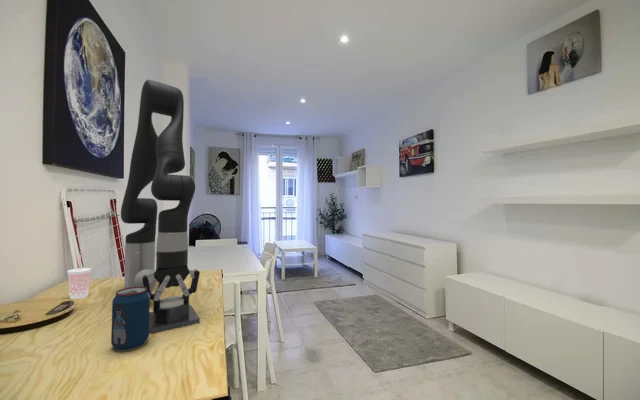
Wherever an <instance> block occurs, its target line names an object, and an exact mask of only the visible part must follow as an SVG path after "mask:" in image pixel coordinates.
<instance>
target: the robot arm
mask: <svg viewBox="0 0 640 400" xmlns="http://www.w3.org/2000/svg"><path fill="white" fill-rule="evenodd" d="M140 92H141V94H140V100H139V112H138V118H137V129H136V132H135V139H134V143H133V147H132V148H133V149H132V153H131V157H130V158H131V159H130V164H129V174H128V179H127V184H126V189H125V192H124V196H123V199H122V203H121V208H120V219H121V221H122V222H123V223H124V224H129V225H130V224H143V226H142V227H141V228H139V229H138V230H136V231H133V232H131V233H128V234H126V235H125V238H124V239H125V244H124V245H125V249H124V250H125V251H124V280H123V281H124V285H123V286H124V288H129V287H136V285H135V282H134V280H135V277H136V275H137V274H138V273H139V272H140V271H142V270H145V269H151V270H153V271H155V272H154V274H151V275H144V276H142V280H143V286H144V287H146V288H147V292H148V293H149V295H150V300H151V301H153V302H152V303H153V305H152V310H153V311H152V312H154V313H156V309H158V308H160V300H161V299H160V297H161V296H162V294H163V293H164V291H165V289H169V288H172V287H175V288H177V287H179V288H180V290H181V291H182V296H181V297H183V299H184V304H185V303H187V304H189V305H190V295H191V294H195V293H196V292H197V288H198V285H199V284H198V283H199V279H200V274H201V272H200V271H199V270H198V269H189V267H188V263H189V262H188V261H189V260H188V258H189V256H188V255H189V236H188V219H189V211H190V207H191V204H192V201H193V199H194V195H195V192H196V184H195V181H194V179H193V177H191V176H189V175H184V174H183V175H182V174H181V175H179V174H175V173H179V172H181V171H182V170H184V169H185V166H186V159H185V153H184V144H183V132H184V131H183V130H184V107H185V106H184V105H185V102H184V101H185V100H184V99H185V98H184V95H183V92H182V90H181V89H180V88H179V87H175V86H173V85H169V84H167V83H163V82H159V81H156V80H152V79H146V80H145V81H144V83H143V84H142V88H141V91H140ZM153 113H154V114H159V115H162V116H167V117H171V118H170V122H169V123H168V125H167V126H166V127H165V128H164V129H163V130H162V132H161V133H160V134H159V135H157V132H156V129H155V127H154V124H153V117H152V116H153ZM149 184H151V185H150V186H151V187H150V192H151V195H152V196H153V197H154V198H155V199H154V198H146V197H143V198H140V197H139V195H140V194H141V192H142V191H143V190H144V189H145V188H146V187H147V186H148V185H149ZM156 200H157V201H158V200H159V201H170V202H174V201H175V202H178V203H177V205H176V206H175V207H174V208H169V209H163V210H161V211H159V213H158V203H157V201H156ZM157 220H158V223H157ZM156 234H157V237H156ZM155 256H156V257H155ZM189 275H190V278H191V283H190V286H189V288H188V287H187V285H186V283H185V280H186V278H187V277H188V276H189ZM153 278H155V279H156V280H157V282H158V285H157V287H156V289H155V292H154V293H152V294H151V293H150V287H149V284H150V283H152V279H153ZM124 288H123V289H124Z"/></svg>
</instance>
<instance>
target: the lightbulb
mask: <svg viewBox="0 0 640 400" xmlns="http://www.w3.org/2000/svg"><path fill="white" fill-rule="evenodd" d="M155 271H156V270H155ZM155 271H153V270H151V269H145V270H142V271H140V272H139V273H138V274H137V275H136V277H135V280H134V282H135V285H136V287H144V286H143V280H142V276H144V275H151V274H154V272H155ZM157 282H158V281H157V280H156V279H155V278H153V279H152V283H150V284H149V287H150V293H151V294H153V290H154V288H155V286H156V284H157ZM151 301H152V300H150V303H151Z"/></svg>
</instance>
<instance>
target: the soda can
mask: <svg viewBox="0 0 640 400" xmlns="http://www.w3.org/2000/svg"><path fill="white" fill-rule="evenodd" d="M150 303H151V302H150V295H149V293H148V292H147V288H146V287H129V288H121V289H119V290H117V291H116V292H115V296H114V298H113V299H112V303H111V304H112V305H111V311H112V312H111V338H110V341H111V343H110V344H111V346H112V347H113V348H114V350H115V351H117V352H128V351H133V350H136V349H138V348H140V347H142V346H143V345H145V344H146V342H147V340H148V338H149V337H150V334H149V312H150V308H151V307H150V305H151V304H150Z"/></svg>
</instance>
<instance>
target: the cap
mask: <svg viewBox="0 0 640 400" xmlns="http://www.w3.org/2000/svg"><path fill="white" fill-rule="evenodd" d="M183 304H184V299H183V297H182V296H178V295H175V296H174V295H173V296H168V297H163V298H161V299H160V308H170V307H176V306H180V305H183Z"/></svg>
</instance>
